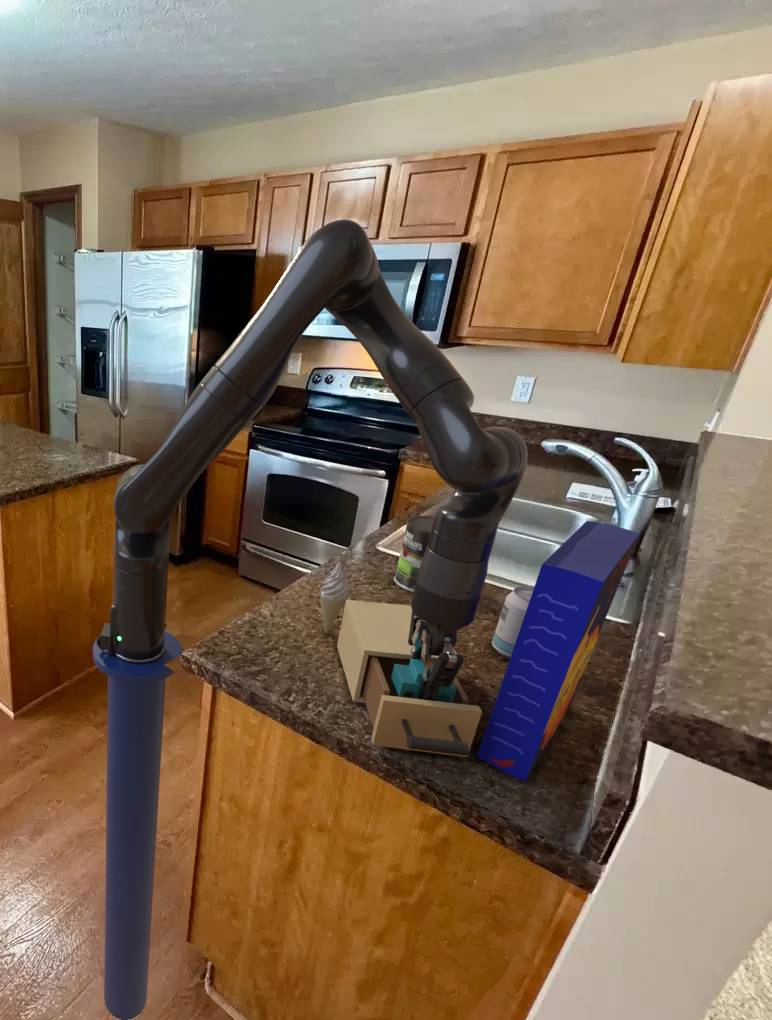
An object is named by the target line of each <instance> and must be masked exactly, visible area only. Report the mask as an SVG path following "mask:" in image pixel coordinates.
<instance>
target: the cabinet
mask: <svg viewBox="0 0 772 1020" xmlns="http://www.w3.org/2000/svg"><path fill="white" fill-rule="evenodd" d="M411 615H412V608H411V605H408V604H407V605H406V604H396V603H388V602H387V603H385V602H374V601H366V600H365V601H364V600H354V599H352V600H351V599H347V600H346V601H345V603H344V609H343V614H342V618H341V619H342V620H341V624H340V630H339V635H338V639H337V645H336V648H337V652H338V654H339V658H340V661H341V665H342V668H343V671H344V675H345V679H346V682H347V685H348V689H349V692H350V696H351V700H352V703H359V704H365V700H364V697H363V694H362V691H361V688H362V683H363V679H364V674H365V670H366V665H367V661H368V656H369V655H373V656H383V657H392V658H402V659H412V657H413V656H411V653H410V651H411V648H412V646H411V645H409V644H408V639H409V631H410V623H411ZM454 652H455V654H458V653H457V651H456V649H454ZM436 657H437V656H434V655H432V656H431V658H436Z"/></svg>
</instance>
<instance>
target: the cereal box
mask: <svg viewBox="0 0 772 1020" xmlns="http://www.w3.org/2000/svg"><path fill="white" fill-rule="evenodd" d="M640 535H641V533H640V532H637V531H633V530H631V529H628V528H624V527H620V526H617V525H614V524H609V523H604V522H596V521H591V520H586V521H585V522H583V524H582V525H580V527H579V528H578V529H576V530H575V532H573V534H571V535H570V537H568V538H567V539H566V540H565V542H563V543H562V544H561V545H560V546H559V547H558V548H557V549H556V550H555V551H554V552H553V553H552V554H551V555H550V556H549V557H548V558H547V559H546V560H544V561H543V562H542V564H541V566H540V569H539V571H538V574H537V577H536V581H535V584H534V587H533V588H534V589H533V592H532V595H531V598H530V601H529V604H528V607H527V610H526V613H525V616H524V619H523V622H522V625H521V628H520V631H519V634H518V637H517V640H516V642H515V645H514V648H513V651H512V654H511V657H510V659H508V664H507V666H506V669H505V672H504V675H503V678H502V681H501V683H500V686H499V690H498V693H497V696H496V698H495V702H494V705H493V707H492V711H491V714H490V716H489V719H488V721H487V725H486V728H485V731H484V735H483V737H482V740H481V743H480V746H479V749H478V752H477V755H476V758H478V759H479V760H482V761H484V762H485V763H487V764H489V765H491V766H492V767H495V768H497V769H499V770H501V771H503V772H505V773H506V774H508V775H510V776H512V777H514V778H516V779H518V780H520V781H522V782H524V783H526V782H527V780H528V778H529V776H530V775H531V774H532V771H533V770H534V768H535V767H536V765H537V763H538V762H539V760H540V759H541V757H542V755H543V753H544V752H545V750H546V749H547V747H548V745H549V743H550V741H551V740H552V739H553V737H554V735H555V733H556V732H557V730H558V728H559V727H560V725H561V724H562V722H563V720H564V718H565V717H566V715H567V714H568V712H569V710H570V708H571V705H572V703H573V700H574V698H575V695H576V692H577V690H578V688H579V685H580V682H581V680H582V679H583V675H584V673H585V670H586V668H587V666H588V663H589V661H590V658H591V655H592V653H593V651H594V648H595V645H596V643H597V640H598V638H599V636H600V633H601V630H602V628H603V626H604V623H605V621H606V619H607V616H608V614H609V611H610V608H611V606H612V604H613V602H614V600H615V599H614V598H615V596H616V594H617V591H618V589H619V586H620V584H621V581H622V579H623V576H624V574H625V571H626V568H627V566H628V564H629V561H630V559H631V557H632V554H633V552H634V549H635V546H636V544H637V541H638V538H639V536H640Z"/></svg>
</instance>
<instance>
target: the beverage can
mask: <svg viewBox="0 0 772 1020" xmlns="http://www.w3.org/2000/svg"><path fill="white" fill-rule="evenodd" d="M533 589H534V587H530V586H517V587H514V588H513V590H512V591H511V592H510V593H509V594H508V595H506V596H505V600H504V603H503V606H502V609H501V612H500V616H499V619H498V622H497V626H496V628H495V631H494V634H493V638H492V641H491V645H492V647H493V648H494V650H496V651H497V653H498V654H499V655H501V656H502V657H504V658H506V659H508V660H510V657H511V654H512V651H513V648H514V645H515V642H516V640H517V637H518V634H519V631H520V628H521V625H522V622H523V619H524V616H525V613H526V610H527V607H528V604H529V601H530V598H531V595H532V592H533Z"/></svg>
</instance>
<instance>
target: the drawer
mask: <svg viewBox="0 0 772 1020" xmlns="http://www.w3.org/2000/svg"><path fill="white" fill-rule="evenodd" d="M409 663H410V659H402V658H392V657H383V656H373V655H369V656H368V661H367V665H366V670H365V674H364V679H363V683H362V688H361V691H362V694H363V697H364V700H365V703H364V704H365V707H366V710H367V712H368V716H369V720H370V722H371V726H372V728H373V729H372V734H371V738H370V741H371V744H372V746H376V747H383V748H390V749H391V748H392V749H398V750H399V749H400V750H407V751H414V752H422V753H423V752H424V753H430V754H439V755H447V756H455V757H461V758H462V757H463V758H468V756H469V753H470V750H471V747H472V744H473V742H474V737H475V735H476V732H477V729H478V726H479V722H480V720H481V717H482V715H483V710H482V709H481V707H480V705H473V704H469V702H470V698H469V697H468V695H467V694H466V692H465V690H464V688H463V686H462V685H461V683H460V680H459V679H458V678H457V676H456V677H455V678H454V680H453V683H454V685H455V686H456V688H457V689H456V693H455V696H454V699H453V702H440V701H431V700H422V699H416V698H405V697H399V695H398V693H397V690H396V688H395V685H394V683H393V680H392V678H391V677H392V673H393V668H394V664H400V665H409Z"/></svg>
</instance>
